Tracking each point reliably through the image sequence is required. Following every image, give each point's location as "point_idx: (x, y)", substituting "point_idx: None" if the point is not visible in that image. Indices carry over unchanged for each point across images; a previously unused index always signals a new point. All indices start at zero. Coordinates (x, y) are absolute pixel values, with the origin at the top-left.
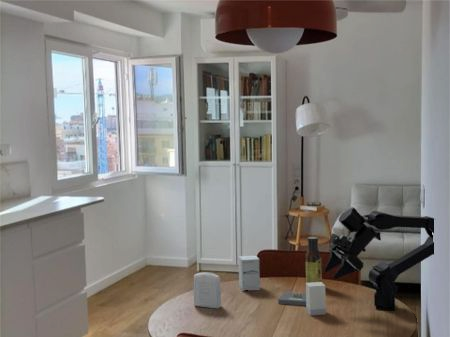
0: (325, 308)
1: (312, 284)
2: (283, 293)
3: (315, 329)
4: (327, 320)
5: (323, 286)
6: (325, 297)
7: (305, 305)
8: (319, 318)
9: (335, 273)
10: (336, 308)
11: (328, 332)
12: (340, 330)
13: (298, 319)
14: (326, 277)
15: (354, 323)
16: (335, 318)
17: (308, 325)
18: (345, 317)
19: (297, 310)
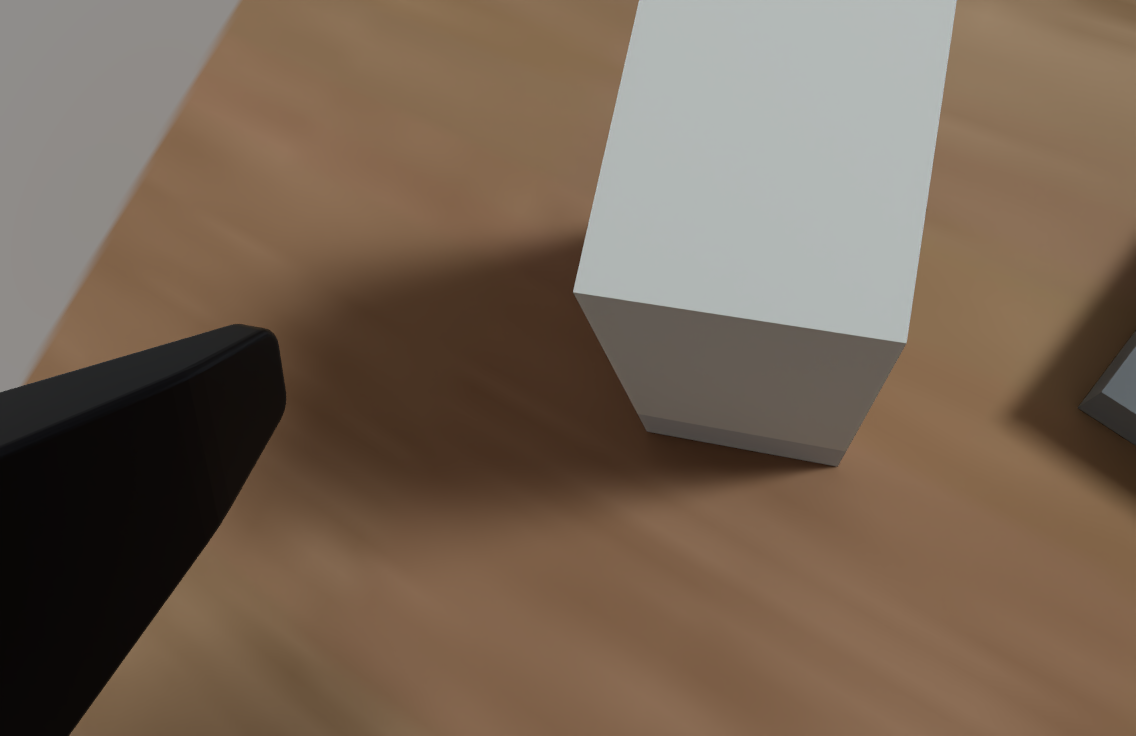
0: (635, 408)
1: (775, 60)
2: None
3: (270, 95)
4: (439, 342)
5: (583, 256)
6: (613, 368)
7: (1134, 332)
8: (546, 282)
9: (149, 367)
10: (824, 725)
11: (136, 183)
12: (113, 326)
13: (626, 39)
14: None
15: (196, 602)
16: (454, 473)
17: (404, 72)
18: (425, 621)
19: (958, 145)
